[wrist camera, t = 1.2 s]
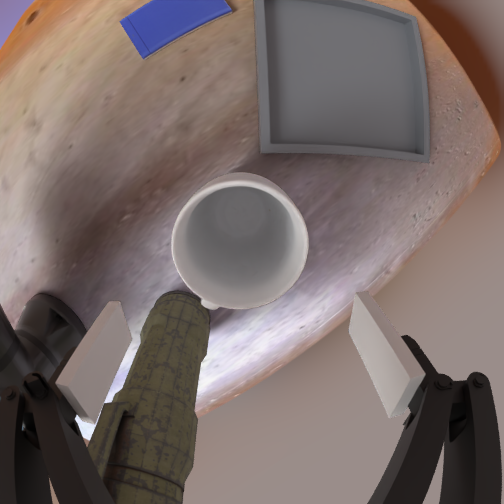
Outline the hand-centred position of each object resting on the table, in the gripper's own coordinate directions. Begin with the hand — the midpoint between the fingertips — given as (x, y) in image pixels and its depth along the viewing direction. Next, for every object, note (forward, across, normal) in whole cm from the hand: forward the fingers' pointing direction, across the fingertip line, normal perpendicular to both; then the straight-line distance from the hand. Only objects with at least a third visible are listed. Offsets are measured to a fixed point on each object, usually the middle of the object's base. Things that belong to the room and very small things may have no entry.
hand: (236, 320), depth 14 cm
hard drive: (+22, -7, +28) cm, 36 cm away
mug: (+21, 0, 0) cm, 21 cm away
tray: (+21, +14, +19) cm, 31 cm away
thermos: (+21, -9, -14) cm, 27 cm away
